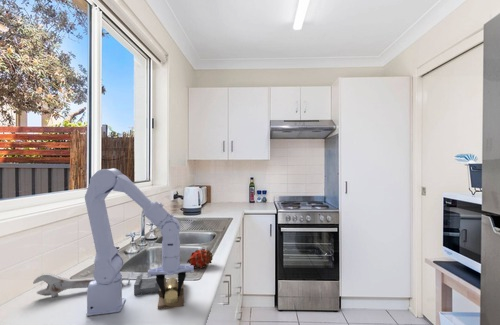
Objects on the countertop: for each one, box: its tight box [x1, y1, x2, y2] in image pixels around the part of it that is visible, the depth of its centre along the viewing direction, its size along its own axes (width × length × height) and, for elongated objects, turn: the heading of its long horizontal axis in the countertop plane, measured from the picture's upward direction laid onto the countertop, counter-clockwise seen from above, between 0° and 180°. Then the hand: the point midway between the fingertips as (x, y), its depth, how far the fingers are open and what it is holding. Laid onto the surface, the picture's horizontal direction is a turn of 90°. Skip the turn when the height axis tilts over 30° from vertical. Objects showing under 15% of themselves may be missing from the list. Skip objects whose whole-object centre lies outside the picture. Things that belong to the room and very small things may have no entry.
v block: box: [133, 275, 160, 296], centre depth 99 cm, size 8×8×4 cm
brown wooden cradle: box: [157, 277, 185, 310], centre depth 94 cm, size 8×16×3 cm, turn 14°
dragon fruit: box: [186, 247, 214, 269], centre depth 119 cm, size 8×8×12 cm
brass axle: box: [164, 277, 178, 306], centre depth 91 cm, size 12×4×4 cm, turn 15°
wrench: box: [32, 272, 131, 298], centre depth 98 cm, size 8×2×30 cm
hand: (171, 296), depth 90 cm, fingers closed on brass axle, 4 cm apart
